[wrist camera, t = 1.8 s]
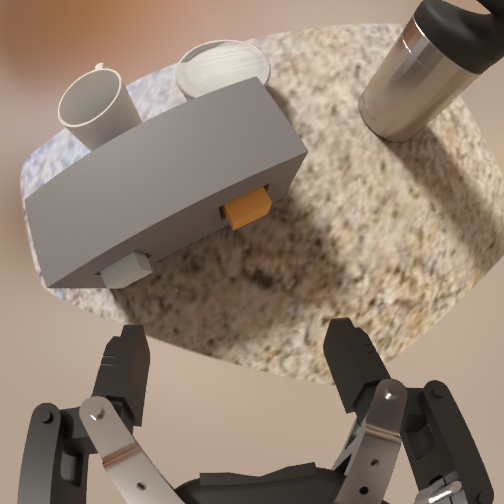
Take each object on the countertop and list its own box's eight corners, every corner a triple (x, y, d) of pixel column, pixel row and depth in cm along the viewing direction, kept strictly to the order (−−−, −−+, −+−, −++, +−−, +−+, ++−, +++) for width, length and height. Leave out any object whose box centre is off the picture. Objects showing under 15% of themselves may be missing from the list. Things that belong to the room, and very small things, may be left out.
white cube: (138, 238, 26) (125, 232, 22) (153, 271, 26) (141, 269, 22) (108, 255, 25) (92, 251, 22) (122, 288, 25) (106, 288, 22)
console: (249, 141, 32) (256, 76, 20) (282, 198, 31) (308, 151, 19) (85, 226, 30) (24, 200, 18) (108, 288, 29) (47, 287, 17)
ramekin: (227, 53, 34) (226, 28, 28) (284, 94, 33) (291, 69, 28) (164, 95, 32) (156, 70, 27) (220, 143, 32) (218, 119, 27)
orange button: (250, 182, 27) (252, 167, 23) (267, 213, 27) (272, 203, 23) (216, 198, 27) (213, 185, 23) (233, 230, 26) (232, 222, 23)
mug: (154, 168, 31) (118, 114, 19) (103, 180, 31) (52, 136, 19) (153, 102, 32) (128, 40, 20) (107, 114, 32) (70, 60, 20)
